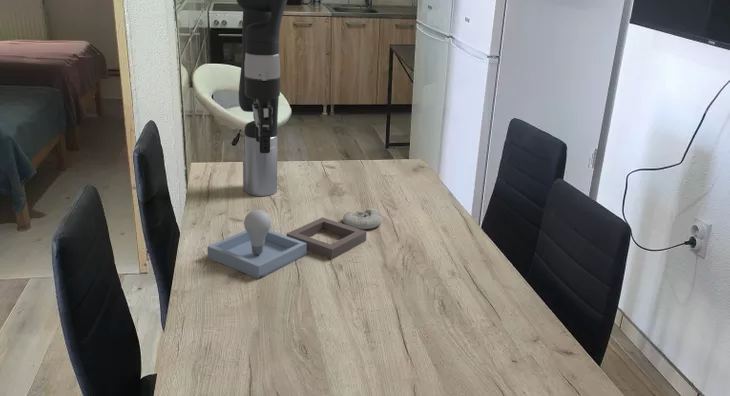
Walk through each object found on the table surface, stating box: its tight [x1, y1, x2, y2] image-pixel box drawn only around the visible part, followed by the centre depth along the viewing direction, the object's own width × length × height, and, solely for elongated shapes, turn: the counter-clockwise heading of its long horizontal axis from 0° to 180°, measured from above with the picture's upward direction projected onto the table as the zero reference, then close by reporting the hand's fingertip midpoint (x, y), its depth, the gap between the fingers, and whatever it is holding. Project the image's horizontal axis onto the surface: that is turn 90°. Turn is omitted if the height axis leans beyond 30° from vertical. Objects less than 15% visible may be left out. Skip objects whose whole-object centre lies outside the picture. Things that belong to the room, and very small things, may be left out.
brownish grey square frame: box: [286, 217, 367, 260], centre depth 160 cm, size 14×14×2 cm
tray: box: [206, 229, 308, 280], centre depth 151 cm, size 16×16×3 cm
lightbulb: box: [243, 209, 272, 255], centre depth 149 cm, size 6×6×11 cm
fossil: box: [342, 207, 383, 230], centre depth 173 cm, size 11×4×10 cm
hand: (262, 147), depth 145 cm, fingers open, 8 cm apart
